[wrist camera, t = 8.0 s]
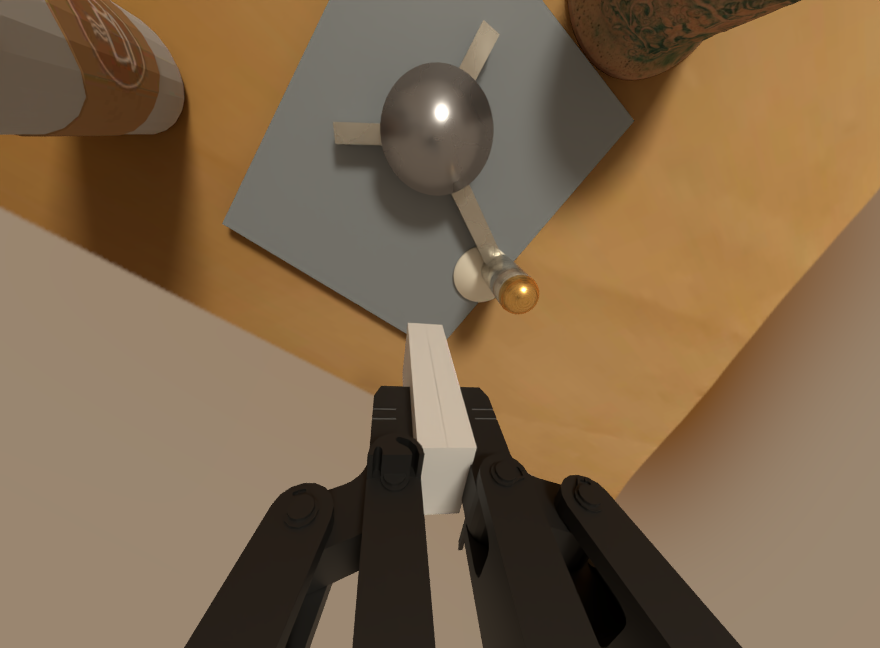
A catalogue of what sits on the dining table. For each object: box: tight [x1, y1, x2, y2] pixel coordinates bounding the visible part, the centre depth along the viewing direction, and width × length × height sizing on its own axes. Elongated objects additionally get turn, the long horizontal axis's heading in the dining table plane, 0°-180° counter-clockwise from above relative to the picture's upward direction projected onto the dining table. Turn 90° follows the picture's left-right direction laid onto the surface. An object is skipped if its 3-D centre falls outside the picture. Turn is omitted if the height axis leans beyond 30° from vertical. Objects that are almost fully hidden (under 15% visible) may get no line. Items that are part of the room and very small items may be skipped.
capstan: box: [333, 20, 539, 314], centre depth 21 cm, size 16×12×7 cm
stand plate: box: [222, 0, 634, 340], centre depth 24 cm, size 21×24×2 cm
